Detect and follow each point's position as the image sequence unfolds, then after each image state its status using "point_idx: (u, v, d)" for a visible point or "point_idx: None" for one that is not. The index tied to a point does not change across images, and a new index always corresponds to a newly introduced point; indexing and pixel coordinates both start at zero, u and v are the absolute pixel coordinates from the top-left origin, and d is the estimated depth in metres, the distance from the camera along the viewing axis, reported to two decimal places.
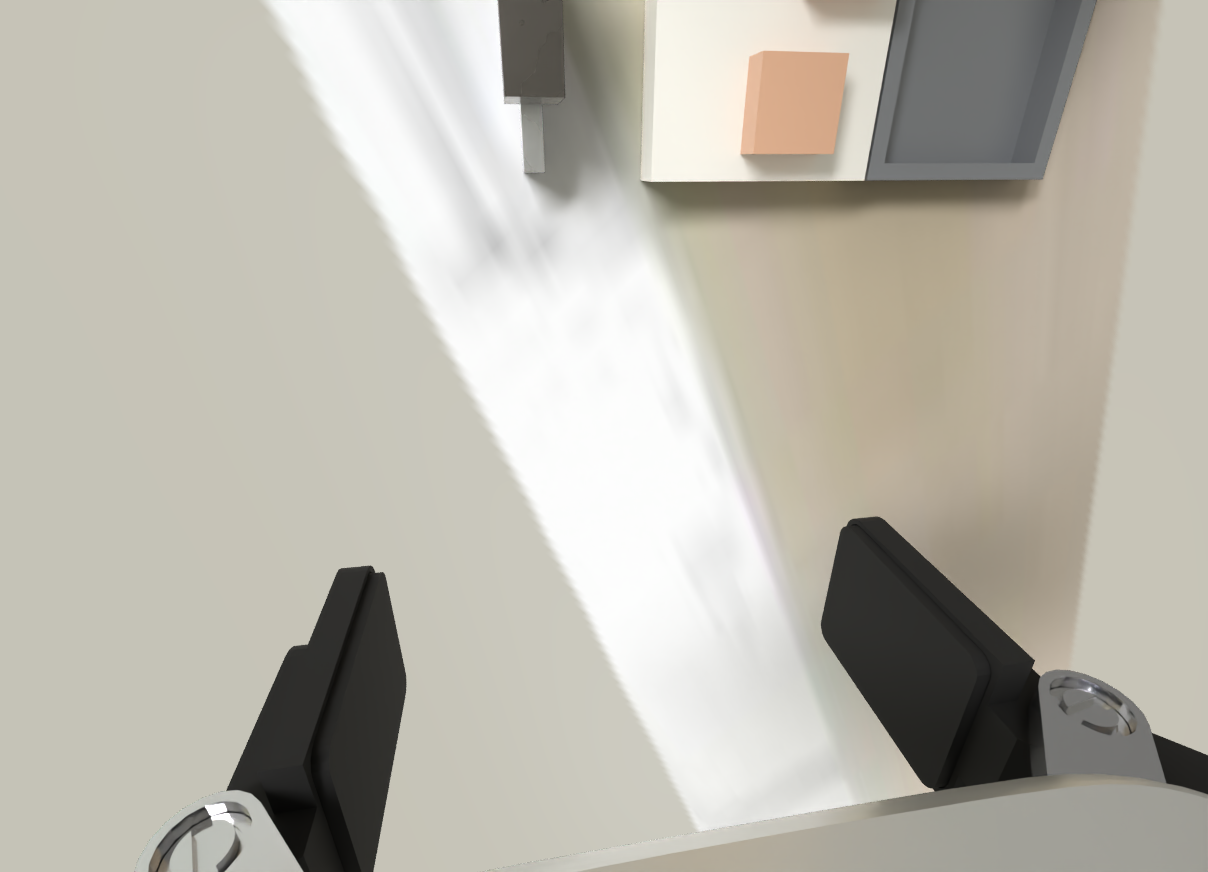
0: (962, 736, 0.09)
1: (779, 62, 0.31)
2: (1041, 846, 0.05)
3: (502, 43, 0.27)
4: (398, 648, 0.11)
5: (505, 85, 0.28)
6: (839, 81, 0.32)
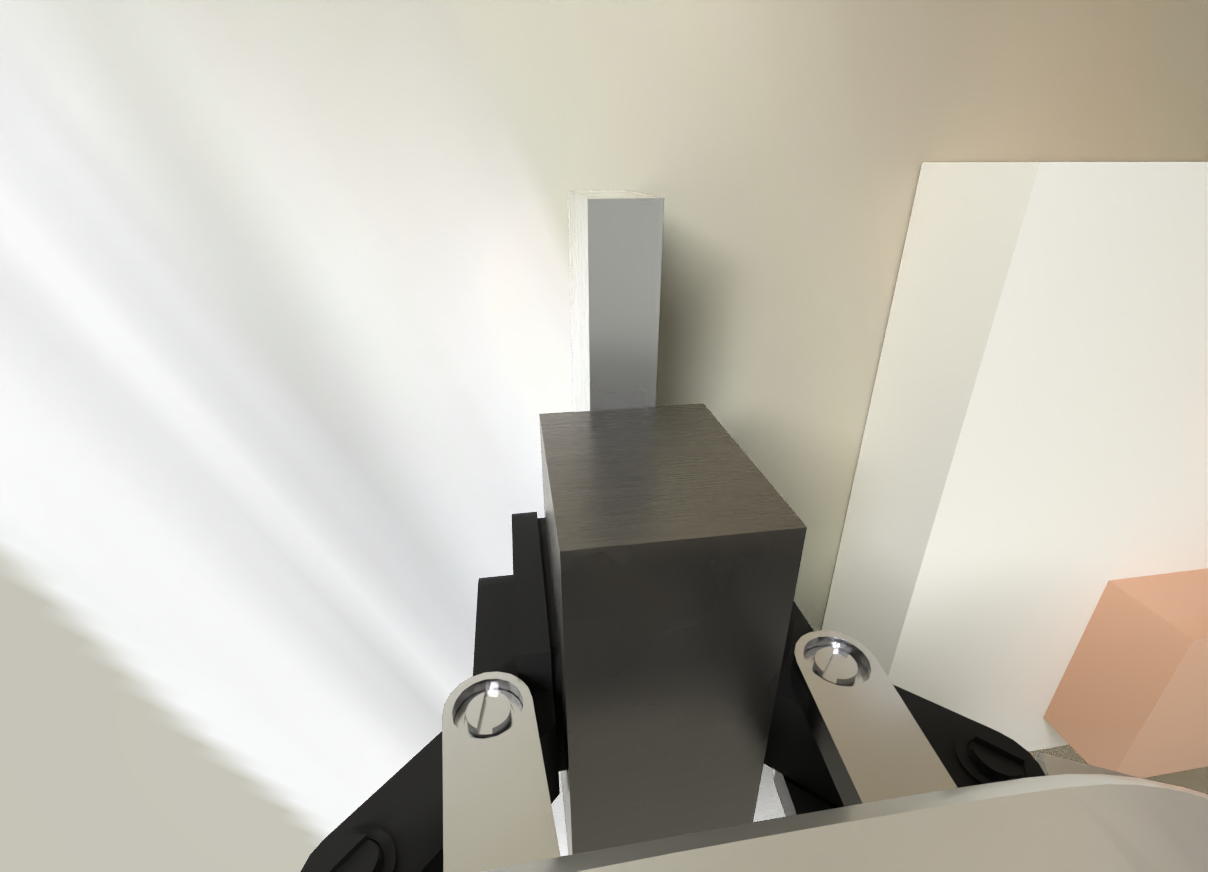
0: None
1: None
2: (1041, 846, 0.05)
3: (576, 848, 0.09)
4: None
5: None
6: None
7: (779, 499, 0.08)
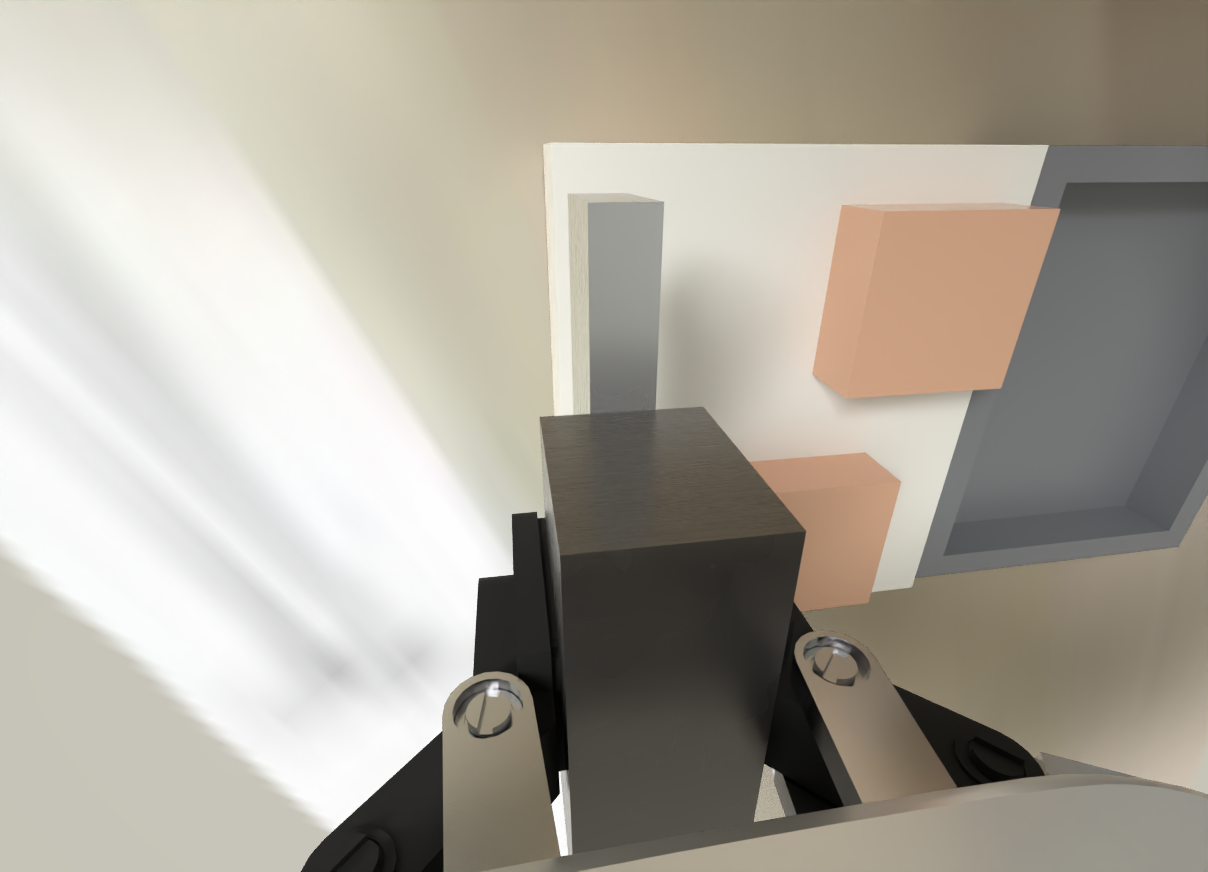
0: None
1: None
2: (1041, 846, 0.05)
3: (576, 851, 0.09)
4: None
5: None
6: (882, 518, 0.19)
7: (779, 503, 0.08)
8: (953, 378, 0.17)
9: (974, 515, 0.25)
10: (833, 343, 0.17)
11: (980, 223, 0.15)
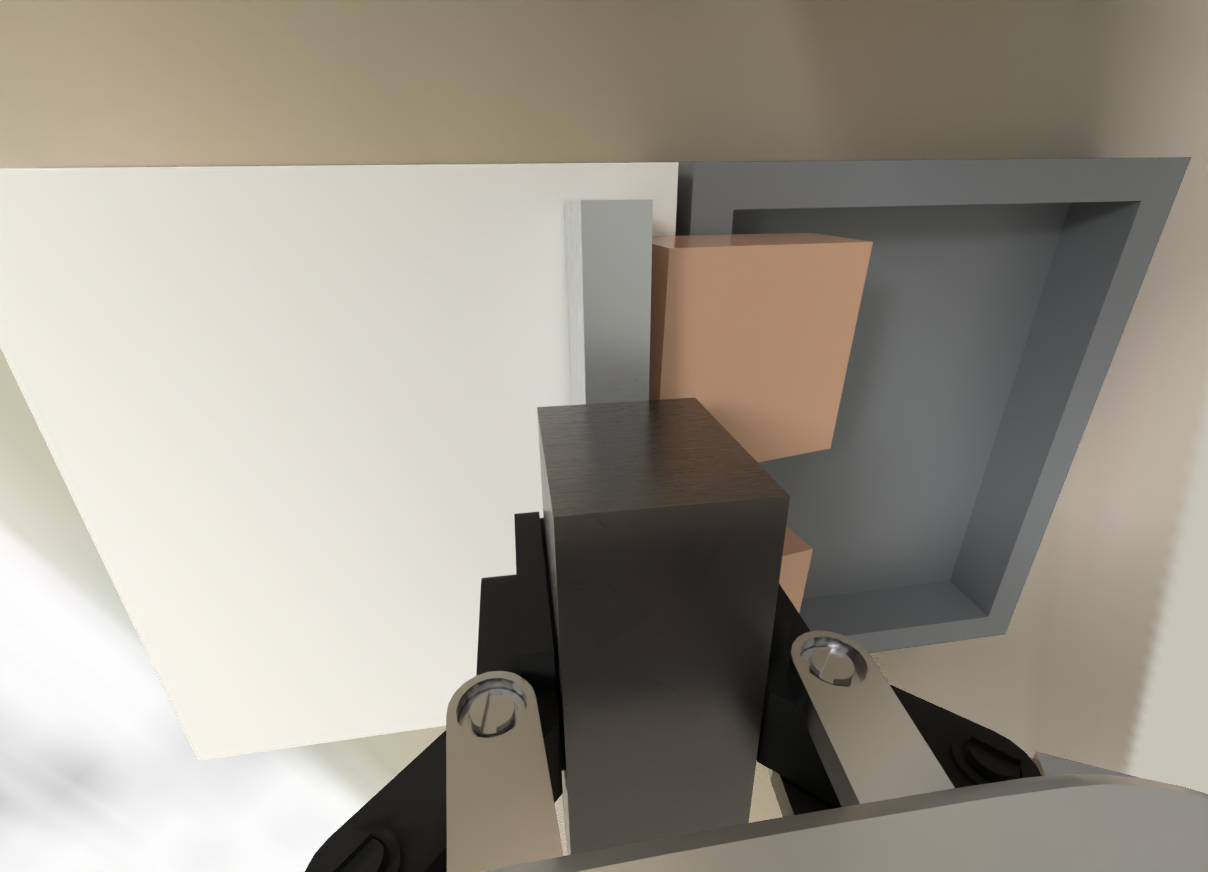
0: None
1: None
2: (1041, 846, 0.05)
3: (573, 834, 0.09)
4: None
5: None
6: (795, 590, 0.16)
7: (765, 473, 0.08)
8: (777, 443, 0.14)
9: None
10: None
11: (787, 260, 0.12)
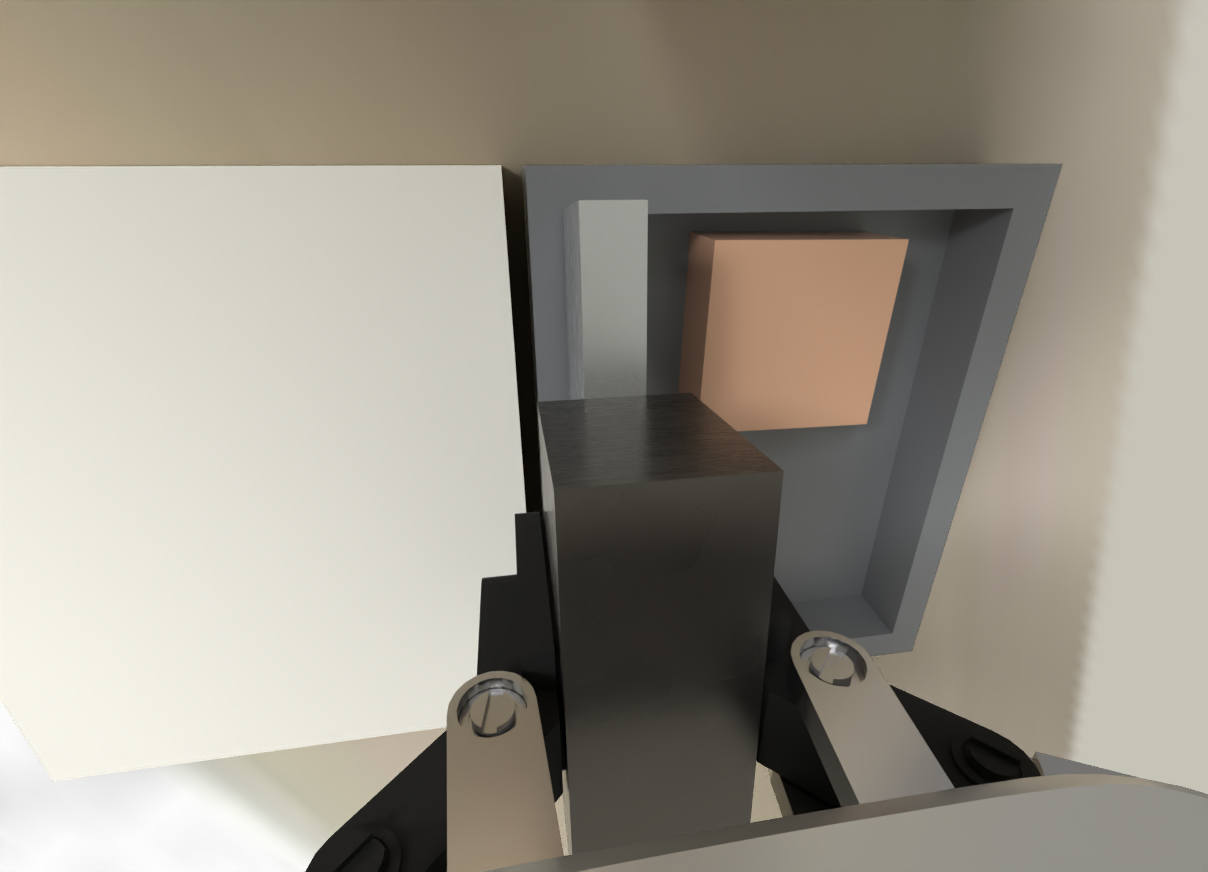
0: None
1: None
2: (1041, 846, 0.05)
3: (574, 824, 0.09)
4: None
5: None
6: None
7: (760, 453, 0.08)
8: None
9: None
10: None
11: None
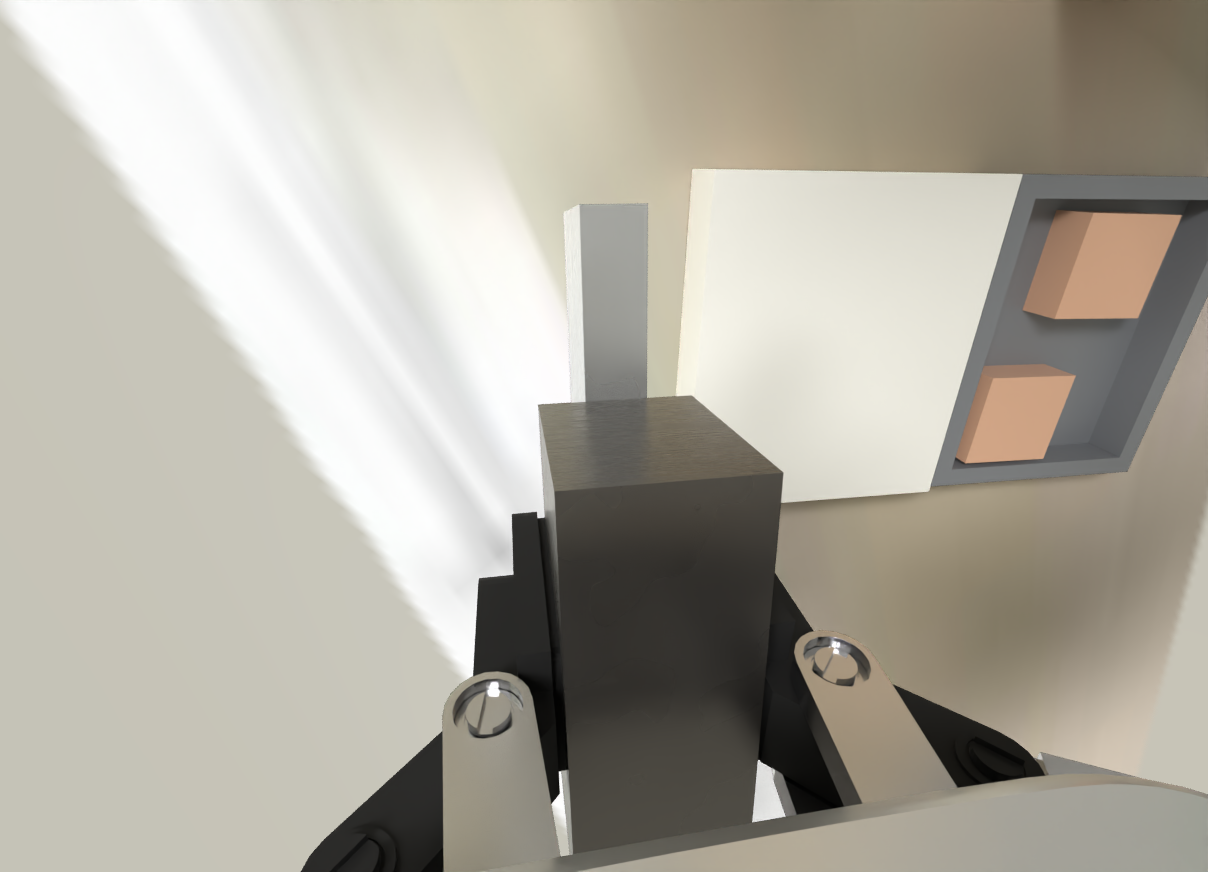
0: None
1: (1006, 387, 0.30)
2: (1041, 846, 0.05)
3: (575, 827, 0.09)
4: None
5: None
6: (1061, 399, 0.31)
7: (759, 455, 0.08)
8: None
9: None
10: None
11: None
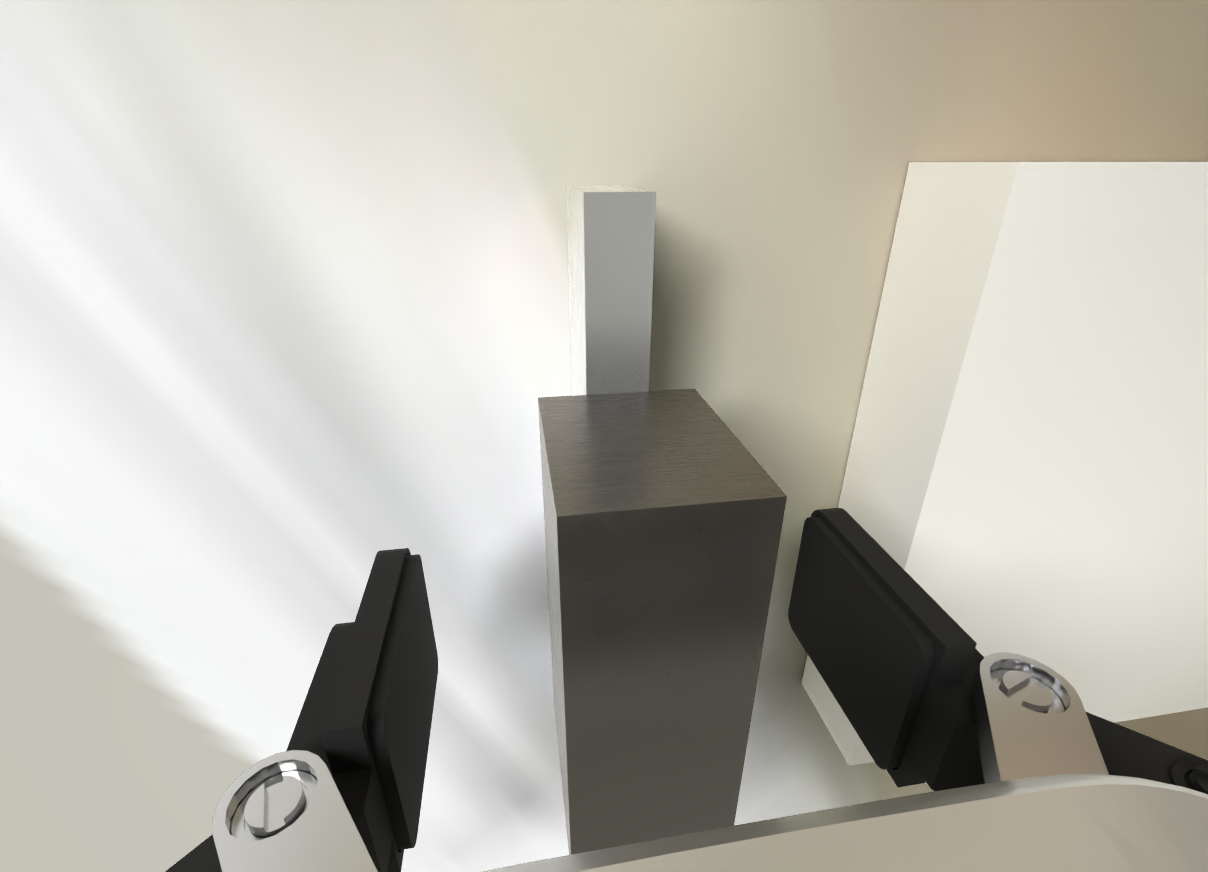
0: (911, 718, 0.09)
1: None
2: (1041, 846, 0.05)
3: (572, 807, 0.10)
4: (431, 629, 0.11)
5: None
6: None
7: (762, 472, 0.08)
8: None
9: None
10: None
11: None
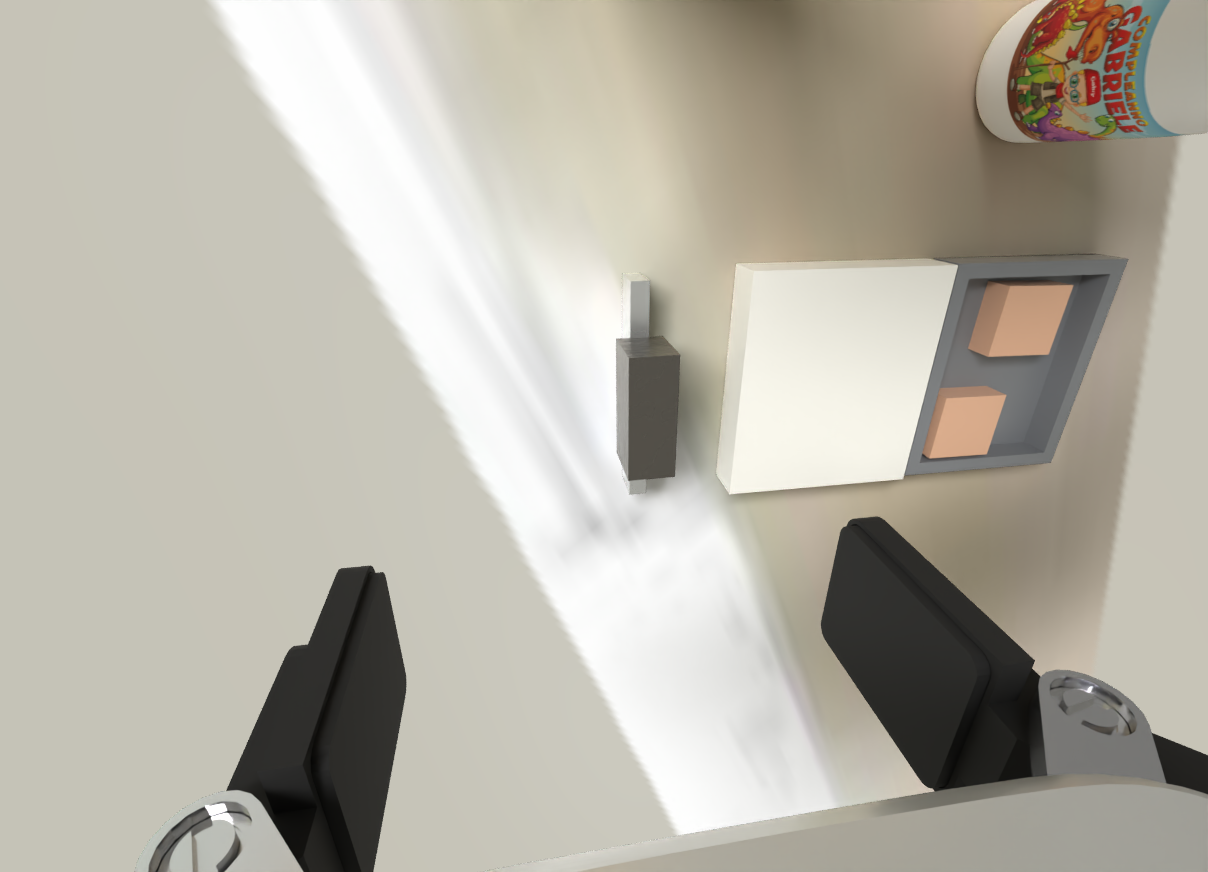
0: (962, 736, 0.09)
1: (956, 404, 0.42)
2: (1041, 846, 0.05)
3: (629, 449, 0.35)
4: (398, 648, 0.11)
5: (629, 474, 0.36)
6: (997, 411, 0.43)
7: (676, 351, 0.33)
8: None
9: None
10: None
11: None
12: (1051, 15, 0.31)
